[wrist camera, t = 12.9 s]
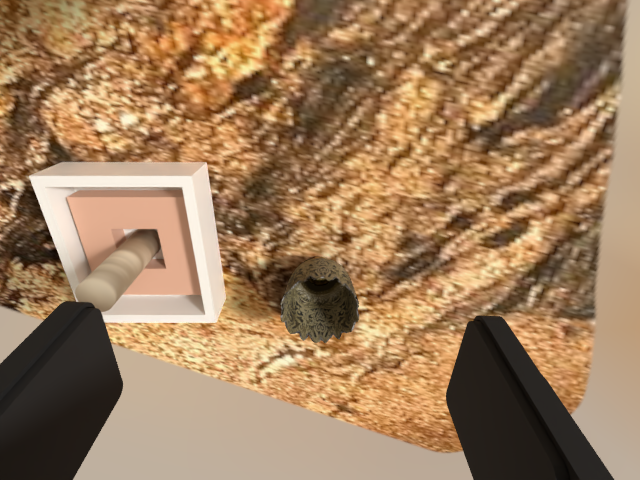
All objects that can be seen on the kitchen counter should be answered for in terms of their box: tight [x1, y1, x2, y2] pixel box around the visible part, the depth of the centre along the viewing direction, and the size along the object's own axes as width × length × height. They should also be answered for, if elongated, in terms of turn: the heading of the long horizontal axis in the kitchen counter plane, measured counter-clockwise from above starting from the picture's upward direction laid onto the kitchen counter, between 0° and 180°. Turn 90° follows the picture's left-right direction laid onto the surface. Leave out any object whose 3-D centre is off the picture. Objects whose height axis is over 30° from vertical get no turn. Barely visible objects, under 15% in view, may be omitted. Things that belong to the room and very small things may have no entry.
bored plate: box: [67, 190, 202, 295], centre depth 37 cm, size 11×11×2 cm
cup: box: [280, 257, 359, 343], centre depth 37 cm, size 8×7×8 cm
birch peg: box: [75, 229, 161, 312], centre depth 33 cm, size 3×3×10 cm
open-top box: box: [29, 162, 226, 323], centre depth 37 cm, size 16×14×4 cm
